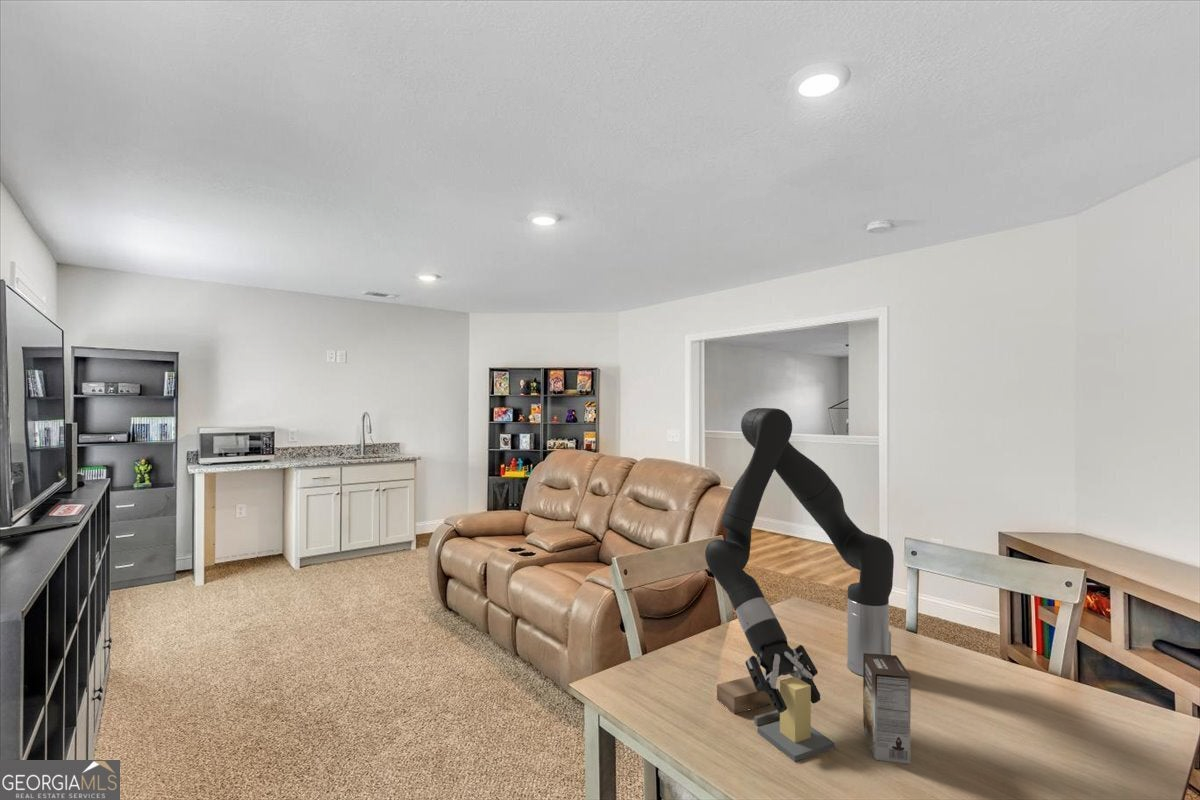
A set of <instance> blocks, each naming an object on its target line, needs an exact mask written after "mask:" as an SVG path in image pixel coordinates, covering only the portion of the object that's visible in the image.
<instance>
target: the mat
mask: <svg viewBox="0 0 1200 800" xmlns="http://www.w3.org/2000/svg"><path fill="white" fill-rule="evenodd" d="M757 734H759V735H760V736H761V737H762V738H764V739H765V740H766V741H768V742H769V743H770V744H771V745H773V746H774V747H776V749H778V750H779V751H780V752H782V753H783V754H784V755H786V756H787V757H788V758H789V759H791V760H792V761H793V762H794V763H795V762H797V761H801V760H803V759H807V758H808V757H812V756H815V755H818V754H821V753H824V752H827V751H829V750H833V749H835V747H836V746H835V742H834V741H833V740H832V739H830V737H829V738H828V737H827V736H826V735H825V734H823V733H821V732H820V731H818V730H817V729H816V728H814V727H813V726H811V738H808V739H805V740H802V741H799V742H796V743H794V742H793V741H792V740H790V739H789V738H788V737H786V736H785V735H784V734H782V733H781V732H780V720H777V721H773V722H770V723H767V724H763V725H760V726H757Z"/></svg>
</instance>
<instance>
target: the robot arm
mask: <svg viewBox="0 0 1200 800" xmlns="http://www.w3.org/2000/svg"><path fill="white" fill-rule="evenodd" d="M740 422H741V423H740V428H741V433H742V434H743V437H744V439H745V440H746V441H747V443H748V444H750V446H751V447H753V448H754V450H753V453H752V456H751V459H750V461H749V463H748V465H747V467H746V468H745V469H744V471H743V473H742V474H741V475H740V477H739V479H738V480H737V482H736V483H735V485H734V486H733V488H732V490H731V492H730V494H729V496H728V499H727V502H726V504H725V508H724V511H723V512H724V513H723V515H722V518H721V524H722V525H721V526H723V527H724V529H726V538H725V539H720V538H719V539H717V538H716V539H714V540H711V541H710V542H709V543H708V544H707V546H706V547H705V551H704V557H705V562H706V565H707V567H708V569H709V570H710V572H711V574H712V575H713V576H714V579H715V580H716V581H717V582H718V584H719V585H720V586H721V588H722V589H723V590H724V591H725V593H726V594H727V596H728V599H729V601H730V604H731V606H732V607H733V610H734V611H735V614H736V617H737V619H738V622H739V625H740V626H741V629H742V631H743V632H744V633H743V634H744V635H745V638H746V639H747V642H748V643H749V646H750V648H751V650H752V652H753V653H754V655H751V656H750V657H749V658H748V659H746V661H745V666H746V668H747V671H748V673H749V675H750V676H751V678H752V681H753V683H754V686H755V688H756V690H757V691H758V692H760V691H764V692H766V693H768V695H769V697H770V699H771V704H772V705H773V707H774V709H775V710H778V712H779V713H782V712H784V711H785V710H787V706H786V704H785V702H784V700H783V698H782V696H781V694H780V689H779V688H777V680H778V678H779V677H780V676H787V675H790V676H791V678H792V677H797V678H799V679H800V680H802V681H804V682H806V683H807V684H809V685H811V703H812V704H816V703H818V702H820V701H821V694H820V691H819V690H818V688H817V686H816V684H815V682H814V679H813V678H814V677H815V676H816V675H818V670H817V667H816V666H815V664H814V662H813V661H812V659H811V657H810V655H809V654H808V652H807V651H806V649H805V647H804V646H803V645H801V644H799V645H798V646H796V647H795V648H791V647H790V646H789V645H788V638H787V636H786V635H787V634H786V633H785V631H784V630H783V628H782V626H781V624H780V622H779V620H778V618H777V616H776V614H775V613H774V610H773V609H772V606H771V605H770V604H769V602H768V601H767V599H766V597H765V595H764V594H763V592H762V590H761V588H760V585H759V584H758V583H757V582H758V581H756V580H755V578H754V577H753V576H751V575H750V574H748V573H747V572H746V571H745V570H744V569H745V568H746V566H747V564H748V562H749V559H750V553H751V546H752V545H751V544H752V543H751V542H752V529H753V526H754V522H755V519H756V517H757V513H758V511H759V507H760V504H761V501H762V498H763V495H764V494H765V493H764V492H765V491H766V488H767V487H768V484H769V481H770V479H771V477H772V475H773V473H774V472H776V473H777V474H778V476H779V477H780V479H781V480H782V481H783V483H784V484H785V485H786V487H788V489H789V490H790V491H791V492H792V494H793V495H794V497H795V498H796V499H797V500H798V502H799V503H800V504H801V505H802V506H803V507H804V509H805V511H807V512H808V514H809V515H810V516H811V517H812V518H813V519H814V520H815V522H816V523H817V524H818V526H819V527H820V528H821V529H822V530H823V531H824V533H825V534H826V535H827V536H828V538H829V540H830V541H831V542H832V545H833V546H834V547H835V549H836V550H837V553H838V554H839V555H840V557H841V558H842V559H843V561H844V562H845V563H846V564H847V565H848V566H850V567H852V568H853V569H855V570H857V571H859V581H858V582H854V583H851V584H849V585H848V586H847V595H846V596H847V597H846V598H847V605H846V606H847V630H846V631H847V633H846V634H847V637H846V638H847V639H846V640H847V641H846V643H847V647H846V650H847V651H846V654H847V655H846V658H847V661H846V663H847V664H846V666H847V668H848V670H850V671H851V672H853V673H855V674H857V675H859V676H861V677H863V653H868V654H883V655H892V633H891V631H890V630H889V628H890V627H889V626H890V625H889V622H890V621H889V620H890V619H889V614H890V613H889V608H890V606H889V603H890V601H889V598H890V595H891V594H892V593H891V592H892V590H893V584H894V583H893V581H894V567H895V565H894V564H895V563H894V562H895V561H894V560H895V559H894V551H893V547H892V545H891V544H890V542H888V541H887V540H886V539H884V538H882V537H878V536H876V535H872V534H871V533H870V534H869V533H867V532H864V531H863V530H861V529H860V528H859V527H858V526H857V525H856V524H855V523H854V522H853V521H852V519H851V518H850V516H848V514H847V512H846V510H845V503H844V498H843V496H842V493H841V490H840V488H838V487H837V485H836V484H835V483H834V481H833V480H832V479H831V478H830V477H829V475H828V474H827V472H826V471H824V469H822V468H821V467H820V466H819V465H818V464H816V463H815V461H813V460H812V459H810V458H809V457H807V456H806V455H805V454H803V453H802V452H800V450H798V449H796V447H794V446H793V444H791V442H789V441H790V438H791V435H792V432H793V421H792V419H791V417H790V414H788V413H787V412H786V411H784V410H783V409H781V408H780V409H779V408H776V407H775V408H774V407H773V408H772V407H770V408H769V407H757V408H751V409H750V410H748V411H746V412H745V414H743V416H742V418H741V421H740ZM755 655H756V656H755ZM761 667H762V668H763V669H764V673H763V671H762V669H761Z"/></svg>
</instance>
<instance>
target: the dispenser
mask: <svg viewBox="0 0 1200 800" xmlns="http://www.w3.org/2000/svg"><path fill="white" fill-rule="evenodd" d="M717 700H718V701H719V702H721V703H722V704H723V705H724V706H723V705H722V704H721V703H720V704H721V705H722V706H723V707H725V706H726V707H727V708H728V709H729V710H728V709H727V708H726V707H725V708H726V709H727V710H728V711H730V710H731V711H732V712H733V713H736V714H739V713H738V712H740V713H743V712H742V711H744V712H746V711H745V710H747V711H749V710H748V709H751V710H753V709H752V708H754V709H757V708H756V707H758V708H760V707H759V706H762V707H764V706H763V705H765V706H768V705H767V704H769V705H771V704H772V701H771V699H770V697H769V695H768V693H766V692H764V691H760V692H758V691H757V690H756V688H755V686H754V683H753V681H752V678H751V676H746V677H742V678H737V679H733V680H729V681H725V682H722V683H718V684H716V701H717ZM718 701H717V702H718ZM719 702H718V703H719ZM731 711H730V712H731ZM732 712H731V713H732ZM733 713H732V714H733ZM753 717H754V725H756V726H757V727H759V726H762V725H766V724H769V723H773V722H776V721H779V720H780V713H779V712H778V710H776V709H775V710H773V711H772V710H771V711H768V712H764V713H761V714H759V715H754V716H753Z"/></svg>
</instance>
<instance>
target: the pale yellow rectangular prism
mask: <svg viewBox="0 0 1200 800" xmlns="http://www.w3.org/2000/svg"><path fill="white" fill-rule="evenodd" d="M779 692H780V694H781V696H782V698H783V700H784V702H785V704H786V706H787V710H785V711H784V712H782V713H780V719H779V721H780V732H781V733H782V734H784V735H785V736H786V737H788V738H789V739H790V740H792V741H793V742H794V743H796V742H799V741H802V740H805V739H808V738H811V727H812V719H811V717H812V716H811V715H812V704H811V703H812V702H811V685H809V684H807V683H806V682H804V681H802V680H800V679H799V678H797V677H792V676H791V677H789V678H785V679H780V680H779Z"/></svg>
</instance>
